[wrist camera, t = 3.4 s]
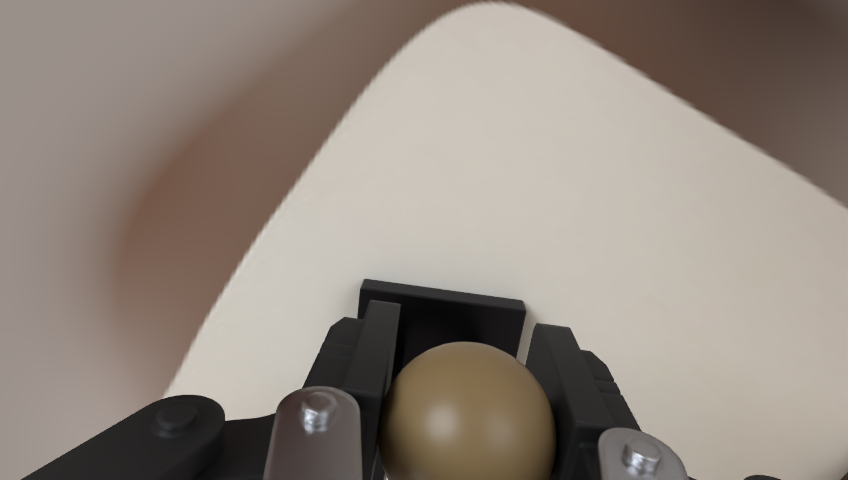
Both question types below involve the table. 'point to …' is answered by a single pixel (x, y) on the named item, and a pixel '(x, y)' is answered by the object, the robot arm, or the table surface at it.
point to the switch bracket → (443, 323)
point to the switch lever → (466, 418)
